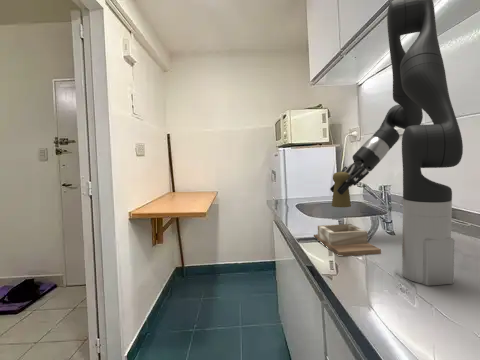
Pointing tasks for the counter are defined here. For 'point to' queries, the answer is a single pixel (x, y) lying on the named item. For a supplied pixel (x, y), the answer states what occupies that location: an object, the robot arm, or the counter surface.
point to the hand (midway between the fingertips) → (335, 191)
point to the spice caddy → (346, 240)
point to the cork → (338, 198)
